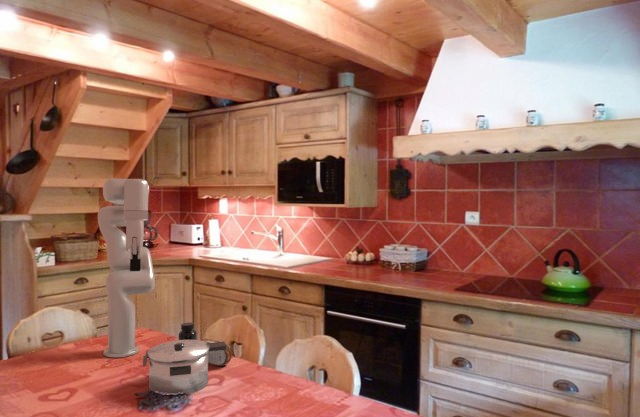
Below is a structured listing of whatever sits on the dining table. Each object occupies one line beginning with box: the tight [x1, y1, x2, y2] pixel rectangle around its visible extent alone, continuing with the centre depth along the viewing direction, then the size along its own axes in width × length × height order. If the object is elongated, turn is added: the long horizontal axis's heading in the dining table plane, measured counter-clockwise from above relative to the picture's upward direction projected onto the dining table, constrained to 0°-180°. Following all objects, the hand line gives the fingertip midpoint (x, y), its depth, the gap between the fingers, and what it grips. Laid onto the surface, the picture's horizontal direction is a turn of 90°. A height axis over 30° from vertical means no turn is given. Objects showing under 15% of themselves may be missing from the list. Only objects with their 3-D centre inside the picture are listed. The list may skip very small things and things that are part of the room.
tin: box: [200, 338, 232, 367], centre depth 168 cm, size 15×3×8 cm, turn 64°
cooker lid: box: [144, 339, 227, 363], centre depth 149 cm, size 19×25×3 cm
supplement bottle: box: [177, 321, 198, 340], centre depth 176 cm, size 7×7×12 cm
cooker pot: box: [142, 354, 209, 395], centre depth 148 cm, size 24×20×10 cm
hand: (135, 270), depth 155 cm, fingers closed
